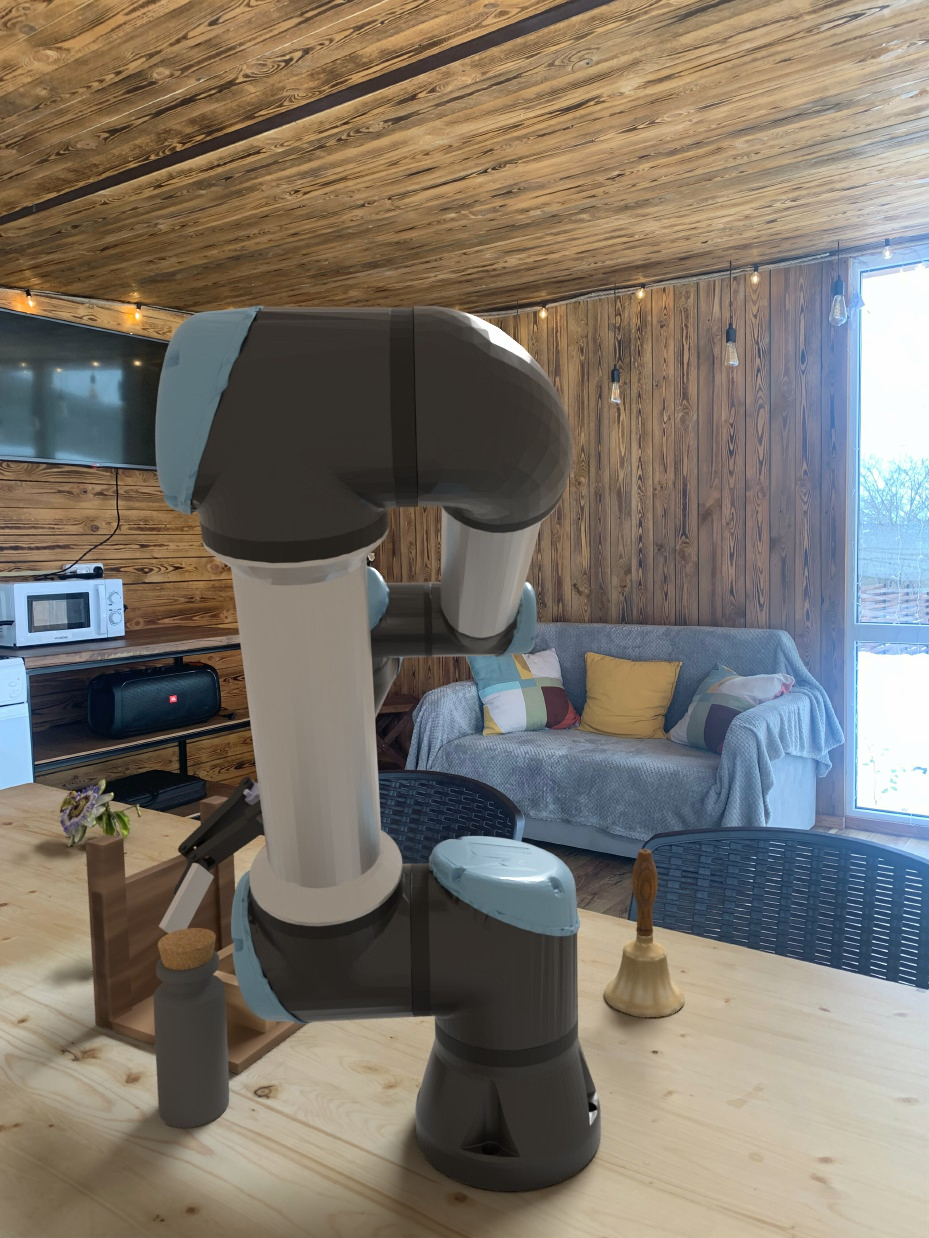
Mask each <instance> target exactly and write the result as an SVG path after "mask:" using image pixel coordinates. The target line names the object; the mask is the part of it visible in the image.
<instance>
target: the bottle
mask: <svg viewBox="0 0 929 1238" xmlns="http://www.w3.org/2000/svg"><path fill="white" fill-rule="evenodd" d="M215 939H216V935H215V934H214V932H212V931H211V930H208V929H203V928H188V929H182V930H178V931H175V932H172V933H169V934H167V935H165V936H164V937H162V938H161V939H160V940H159V942H158V948H159V952H160V956H161V958H160V960H159V961H158V962H157V965H156V972H157V977H158V978H159V979H160V980H161V981H163V983H162V984H161V985H160V986H159V987H158V988H157V989H156V991H155V993H154V1001H153V1002H154V1026H155V1045H154V1047H155V1060H156V1062H155V1064H156V1067H155V1068H156V1079H157V1080H156V1083H157V1103H158V1114H159V1117H160V1119H161V1121H162V1122H163V1123H165V1124H166V1125H168V1126H170V1127H174V1128H180V1129H188V1128H196V1127H199V1126H203V1125H207V1124H209V1123H211V1122H212V1121H214V1120H216V1119H217V1118H219V1117H221V1115H223V1114H224V1113H225V1111H226V1110H227V1108H228V1106H229V1103H230V1082H229V1081H230V1080H229V1079H230V1078H229V1071H228V1049H227V1027H226V1005H225V988H224V983H223V981H222V980H221V979H220V978H219V977H217V976H215V975H213V974H214V973H215V972H216V971H217V970H218V968H219V955H218V954H217V952H216V951H214V945H215Z"/></svg>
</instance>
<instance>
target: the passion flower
mask: <svg viewBox="0 0 929 1238" xmlns="http://www.w3.org/2000/svg"><path fill="white" fill-rule="evenodd" d="M106 785H107V782H106V779H105V778H103V779H101V780H99V782H98V783H97V785H95V786H93V784H91V785H90V786H89V787H86V788H85V789H82V792H80V791H78V792H77V794H76V791H73V790H70V791H69V792H68V793H67V795H66V796H65V797H63V800H62V802H61V804H59V805H58V806H59V814H61V815H59V816H58V819H57V820H58V821H59V823H60V825H61V827H62V828H63V832H64V833H65V834H66V835H65V838H66V839H69V841H68V843H67V844H66V846H67V845H73V844H74V845H75V844H78V843H80V842H82V840H83V838H85V836H86V833H87V829H88V828H89V829H90V828H91V829H92V828H95V826H97V825H98V827H99V828H100V829H102V833H103V835H111V836H116V837H118V836H117V834H118V835H121V836H122V838H123V842H125V841H126V839H128V837H129V835H130V832H131V829H132V828H131V823H130V822H131V818H130V817H129V816H128V814H126V813H125V811H126V810H130V809H132V808H135V810H136V813H137V817H138V818H141V817H142V813H141V808H140V804H139V803H137V804H133V805H131V806H130V807H127V808H124V809H122V810H115V811H112V810H111V806H110V803H109V802H111V801H112V800H113V799H114V792H110V793H109V792H108V793H105V794H103V792H104V790H105V789H106ZM116 823H117V824H118V825H119V826H118V827H119V830H120V832H121V833H120V832H119V830H118V827H117V824H116ZM74 845H73V846H74Z"/></svg>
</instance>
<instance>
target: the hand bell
mask: <svg viewBox="0 0 929 1238" xmlns="http://www.w3.org/2000/svg"><path fill="white" fill-rule="evenodd" d="M631 875H632V877H631V879H632V880H631V885H632V893H633V896H634V900H635V904H636V909H637V911H636V912H637V913H636V918H637V919H636V929H635V932H636V938H635V939H633V940H630V941H628V942H626V943H625V945H624V946H623V949H622V954H621V955H622V956H621V962H620V966H619V969H618V971H617V974H616V975H615V977H614V978H613V979H611V980H610V981H609V982H608V983H607V985H605V986H606V987H605V988H604V990H603V996H604V999H605V1002H606V1003H608V1005H610V1006H611V1007H612V1008H613V1009H614V1010H616V1011H618V1010H619V1011H618V1012H620V1011H621V1013H623V1012H624V1014H626V1013H627V1014H626V1015H629V1014H631V1015H630V1016H633V1017H638V1016H639V1018H645V1017H647V1018H646V1019H650V1018H649V1017H656V1018H661V1016H662V1017H663V1016H664V1017H668V1016H670V1015H669V1014H672V1013H674V1012H676V1013H678V1012H679V1011H680V1010H681V1009H682V1008H683V1007H684V1005H685V1002H684V999H685V996H684V993H683V992H682V990H681V988H680V987H679V986H678V985H677V984H676V983H675V982H674V980H673V979H672V977H671V974H670V970H669V965H668V958H667V951H666V949H665V947H664V946H663V945H662V944H660V943H658V942H656V941H654V928H653V926H654V925H653V922H654V921H653V910H654V909H653V908H654V903H655V902H656V901H655V900H656V898H657V894H658V893H657V892H658V884H659V883H658V871H657V868H656V864H655V861H654V857H653V853H652V851H651V849H648V848H641V849H639V850H638V852H637V856H636V860H635V862H634V865H633V869H632V874H631ZM682 1006H683V1007H682ZM681 1007H682V1008H681ZM680 1008H681V1009H680ZM679 1009H680V1010H679ZM678 1010H679V1011H678ZM677 1011H678V1012H677ZM674 1014H675V1013H674ZM667 1015H668V1016H667ZM672 1015H673V1014H672ZM664 1017H663V1018H664Z"/></svg>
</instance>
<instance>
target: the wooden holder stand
mask: <svg viewBox="0 0 929 1238" xmlns="http://www.w3.org/2000/svg"><path fill="white" fill-rule="evenodd" d="M228 798H229V797H225V796H218V795H214V796H211V797H208V798H205V799H202V800H199V817H200V818H199V819H200V825H201V824H202V823H203V822H204V821H205V820H206V819H207V818H208V817H209V816H210V815H211V814H212V813H214V812H215V811H216V810H217V809H218V808H219V807H220V806H221V805H222V804H223V803H224V802H225V801H226V800H227V799H228ZM124 842H125V841H124V839H123V837H120V836H117V837H116V836H111V835H104V834H103V835H100V836H98V837H95V838H93V839H88V840H87V841H85V842H84V843H85V858H86V860H85V861H86V875H87V877H86V878H87V892H88V893H87V895H88V909H89V927H90V928H89V929H90V945H91V946H90V947H91V948H90V949H91V965H92V982H93V984H92V985H93V999H94V1019H95V1025H96V1026H98V1027H100V1028H104V1029H105V1030H109V1031H112V1032H115V1033H119V1034H120V1035H124V1036H127V1037H129V1038H132V1039H136V1040H138V1041H141V1042H143V1043H147V1044H150V1045H152V1046H155V1026H154V1002H153V1001H154V993H155V991H156V989H157V988H158V987H159V986H160V985H161V984H162V983H163V981H161V980H160V979H159V978H158V977H157V972H156V965H157V962H158V961H159V960H160V958H161V956H160V952H159V948H158V942H159V940H160V939H161V938H162V937H164V936H165V935H167V934H169V933H167V932H166V931H165V930H163V929H162V928H160V927H159V925H160V923H161V921H162V919H163V918H164V916H165V914H166V912H167V910H168V908H169V906H170V905H171V903H172V901H173V899H174V897H175V895H174V889H175V887H176V885H177V884H178V882H179V880H180V878H181V876H182V874H183V872H184V871H185V869H186V867H187V864H188V860H187V859H186V858H185V857H184V856H183V855H182V854H181V853H180V854H179V855H176V856H174V857H172V858H170V859H167V860H164V861H162V862H159V863H157V864H155V865H152V866H150V867H147V868H146V869H145V868H144V869H142V870H140V871H137V872H135V873H133V874H130V875H128V876H126V865H125V845H124V844H125V843H124ZM194 848H195V849H196V847H194ZM208 857H209V856H206V857H205V858H208ZM211 874H212V875H213V876H214V877H213V879H212V881H211V883H210V885H209V887H208V889H207V891H206V893H205V895H204V897H203V899H202V900H201V902H200V904H199V906H198V908H197V910H196V912H195V914H194V916H193V918H192V920H191V922H190V924H189V925H188V927H187V929H188V928H203V929H208V930H211V931H212V932H214V934H215V935H216V939H215V945H214V951H216V952H217V954H218V955H219V968H218V970H217V971H216V972H215V973H214V974H213V975H215V976H217V977H219V978H220V979H221V980H222V981H223V983H224V988H225V1005H226V1027H227V1049H228V1072H231V1073H234V1074H236V1075H240V1074H241V1073H242V1072H243V1071H245V1070H246V1069H247V1068H249V1067H250V1066H252V1065H253V1064H255V1063H256V1062H257V1061H258V1060H259V1059H261V1058H263V1057H264V1056H265V1055H266V1054H268V1053H269V1052H270V1051H272V1050H273V1049H274V1048H276V1047H277V1046H278V1045H279V1044H281V1043H283V1042H284V1041H285V1040H287V1039H289V1037H291V1036H292V1035H293V1034H294V1033H296V1032H298V1031H299V1030H300V1029H301V1028H302V1027H304V1026H305V1025H306V1024H305V1023H304V1024H299V1023H295V1022H285V1021H268V1020H264V1019H262V1018H259V1017H258V1016H256V1015H255V1014H254V1013H253V1012H252V1011H251V1010H250V1009H249V1007H248V1006H247V1005H246V1003H245V1001H244V999H243V996H242V994H241V991H240V988H239V985H238V982H237V978H236V973H235V968H234V962H233V950H234V942H233V939H232V933H231V916H232V905H233V899H234V895H235V891H236V879H235V876H236V874H235V853H234V854H233V855H231V856H230V857H228V858H227V859H225V860H224V861H223V862H221V863H220V864H218V865H217V866H216V867H214V868H213V869H211Z"/></svg>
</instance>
